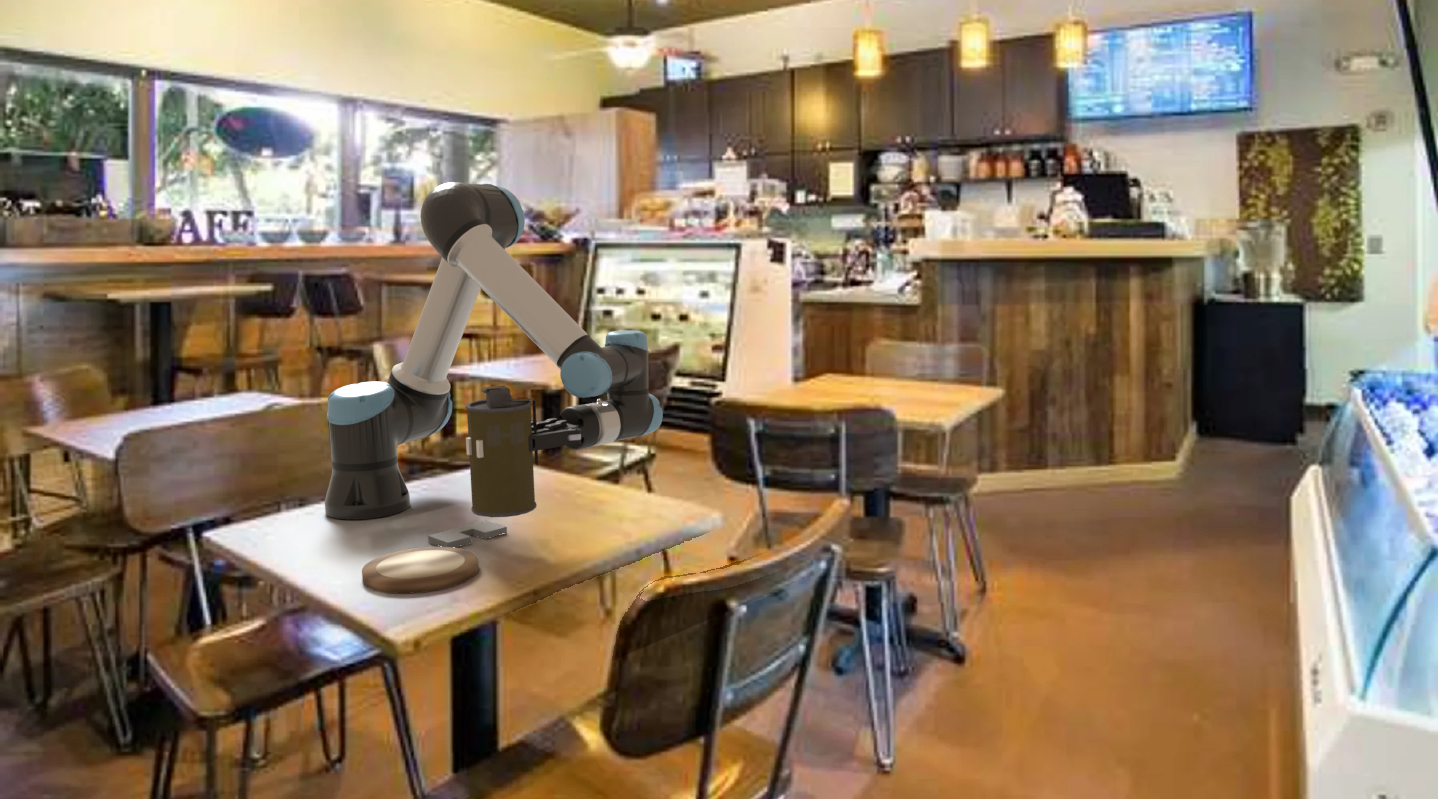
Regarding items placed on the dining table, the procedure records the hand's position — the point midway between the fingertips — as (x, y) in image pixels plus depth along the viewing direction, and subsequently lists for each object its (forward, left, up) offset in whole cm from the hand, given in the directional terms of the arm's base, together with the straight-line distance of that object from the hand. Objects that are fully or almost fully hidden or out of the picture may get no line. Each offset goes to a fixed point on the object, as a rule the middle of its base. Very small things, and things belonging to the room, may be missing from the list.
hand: (472, 447), depth 157 cm
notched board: (-10, +5, -18) cm, 21 cm away
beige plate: (0, -10, -18) cm, 21 cm away
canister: (0, +6, -11) cm, 12 cm away
